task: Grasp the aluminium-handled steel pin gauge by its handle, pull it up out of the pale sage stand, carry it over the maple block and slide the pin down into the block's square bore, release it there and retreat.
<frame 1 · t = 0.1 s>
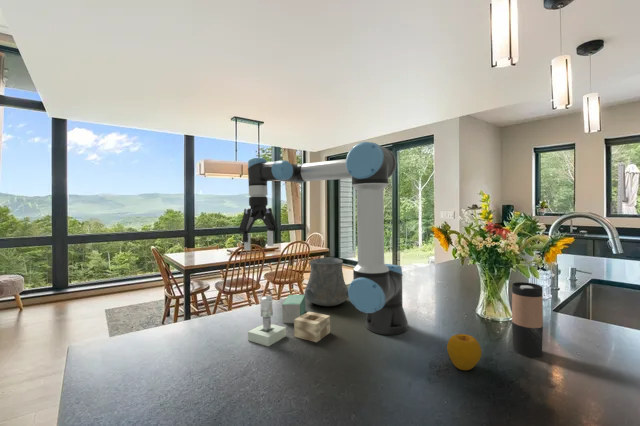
hand: (259, 248, 127), 28 cm above the countertop, fingers open, 13 cm apart
apple: (464, 368, 84), on the countertop
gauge: (266, 317, 105), in the stand
block: (312, 334, 107), on the countertop
box: (294, 317, 125), on the countertop
travel mug: (527, 352, 92), on the countertop
vessel: (328, 304, 141), on the countertop
stand: (267, 338, 105), on the countertop
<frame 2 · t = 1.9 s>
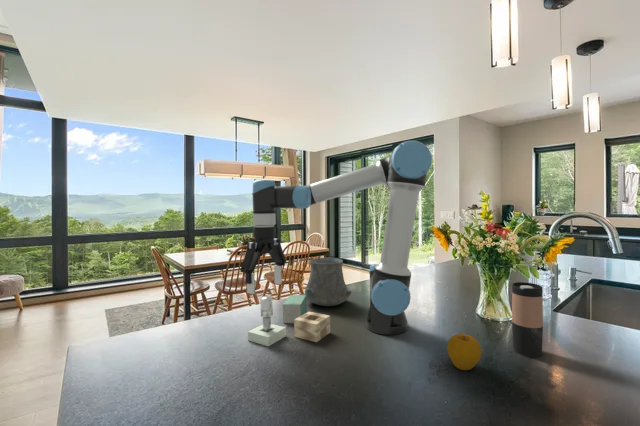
hand: (265, 288, 105), 17 cm above the countertop, fingers open, 13 cm apart
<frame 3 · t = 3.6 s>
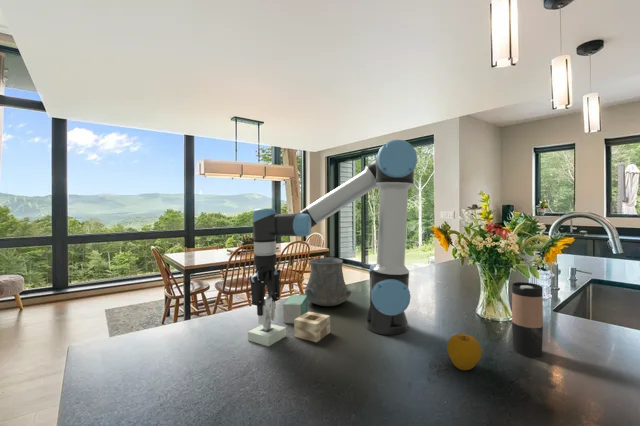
hand: (266, 321, 105), 6 cm above the countertop, fingers closed on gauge, 4 cm apart
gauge: (266, 317, 105), in the stand, touching gripper
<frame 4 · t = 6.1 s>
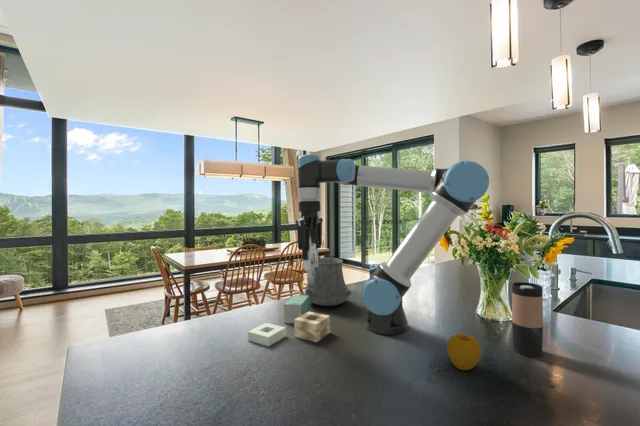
hand: (310, 267, 107), 23 cm above the countertop, fingers closed on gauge, 4 cm apart
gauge: (310, 263, 107), point 25 cm above the countertop, touching gripper
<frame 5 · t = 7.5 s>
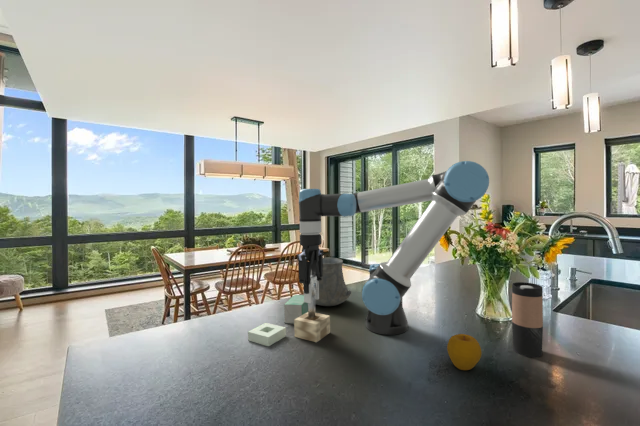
hand: (311, 300, 107), 12 cm above the countertop, fingers closed on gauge, 4 cm apart
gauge: (311, 296, 107), point 13 cm above the countertop, touching gripper
when the fingers open (8 cm above the countertop, at t = 8.6 s): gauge stays where it is, resting on block.
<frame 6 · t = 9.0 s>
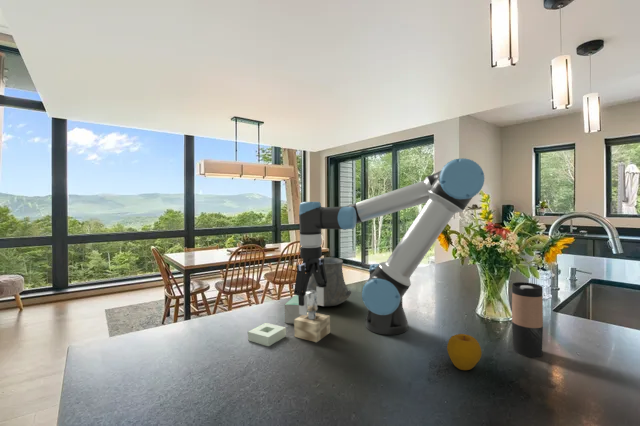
hand: (312, 309, 107), 9 cm above the countertop, fingers open, 10 cm apart
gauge: (311, 311, 107), in the block, point 8 cm above the countertop
block: (312, 334, 107), on the countertop, touching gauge
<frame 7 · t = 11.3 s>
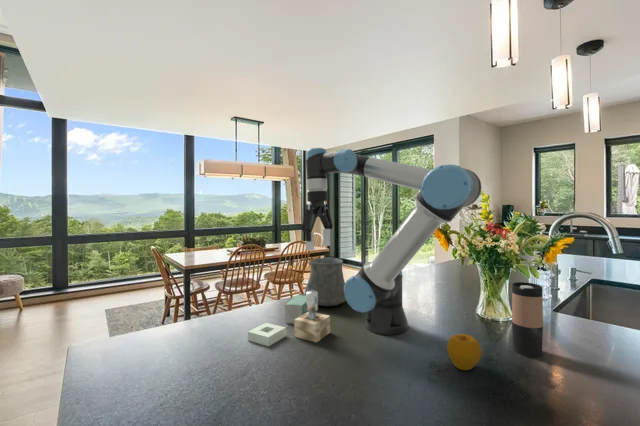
hand: (318, 248, 115), 29 cm above the countertop, fingers open, 13 cm apart
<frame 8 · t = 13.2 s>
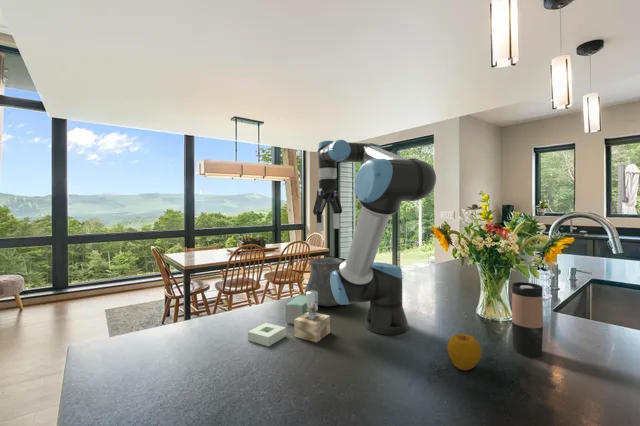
hand: (328, 229, 129), 35 cm above the countertop, fingers open, 13 cm apart
at the end: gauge 0.0 cm off-centre on the block, point 8.0 cm above the block's base; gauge tilted 2°; the gripper is holding nothing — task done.
